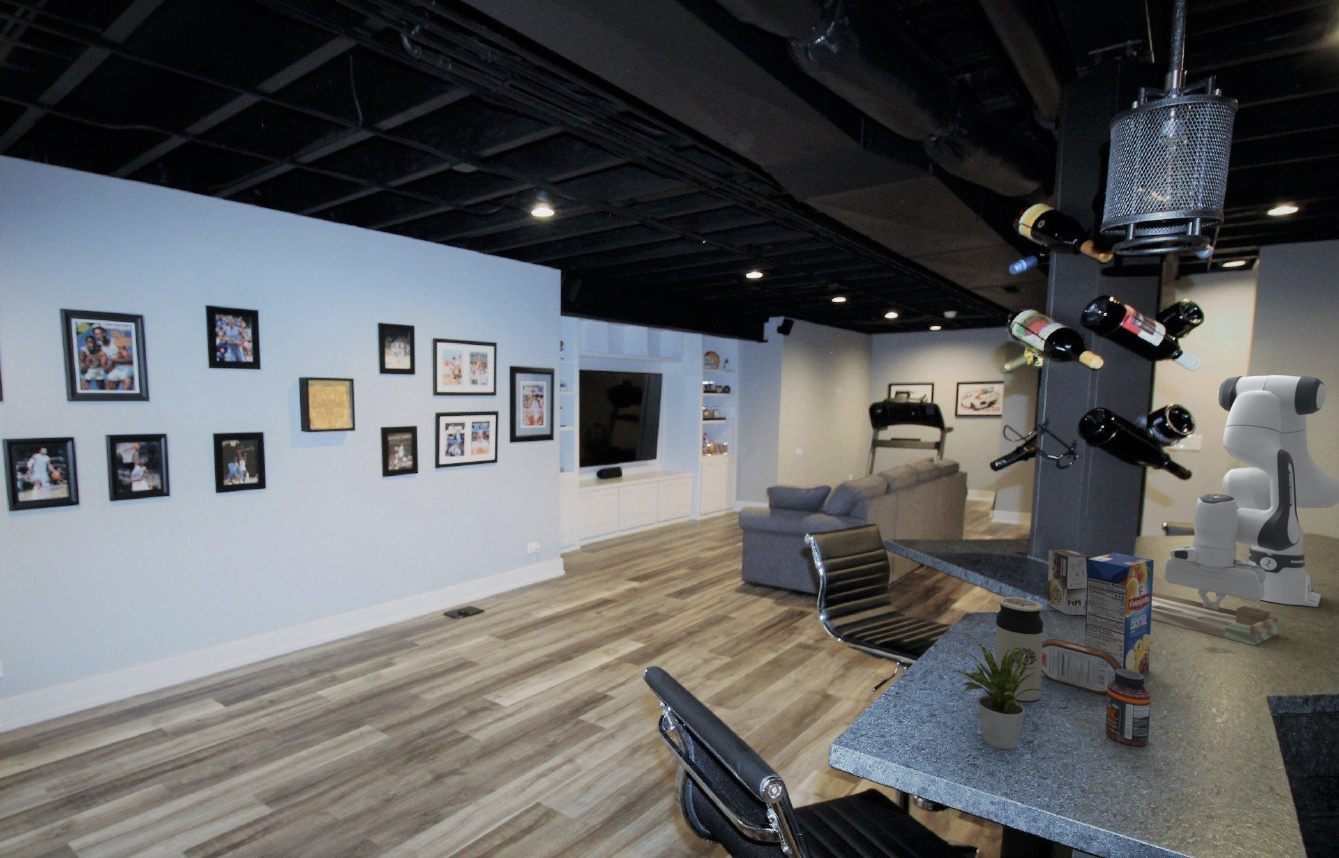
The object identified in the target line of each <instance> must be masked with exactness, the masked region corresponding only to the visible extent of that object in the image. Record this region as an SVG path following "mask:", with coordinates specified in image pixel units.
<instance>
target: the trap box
mask: <svg viewBox="0 0 1339 858" xmlns="http://www.w3.org/2000/svg"><path fill="white" fill-rule="evenodd" d="M1236 610H1237V609H1231V608H1227V607H1222V606H1220V608H1219V610H1215V609H1211V608H1206V607H1203V602H1200V601H1195V600H1192V599H1186V598H1182V597H1178V596H1173V595H1169V594H1166V593H1161V592H1156V591H1152V612H1151V620H1155V621H1158V622H1163V623H1166V624H1169V625H1174V626H1178V627H1181V628H1186V629H1189V630H1193V631H1197V632H1201V633H1205V634H1209V635H1212V636H1216V637H1220V638H1224V639H1228V640H1232V641H1236V642H1240V643H1243V644H1247V645H1251V646H1255V645H1258V644H1259V643H1262V642H1264V641H1266V640H1268V639H1271V638H1272V637H1274V636H1277V635H1278V628H1279V623H1278V622H1279V616H1277V615H1276V616H1275V615H1273V616H1270V618H1268V619H1265V620H1263V621H1261V622H1258V623H1256V624H1253V625H1251V626H1250V625H1245V624H1241V623H1237V622H1236Z"/></svg>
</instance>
